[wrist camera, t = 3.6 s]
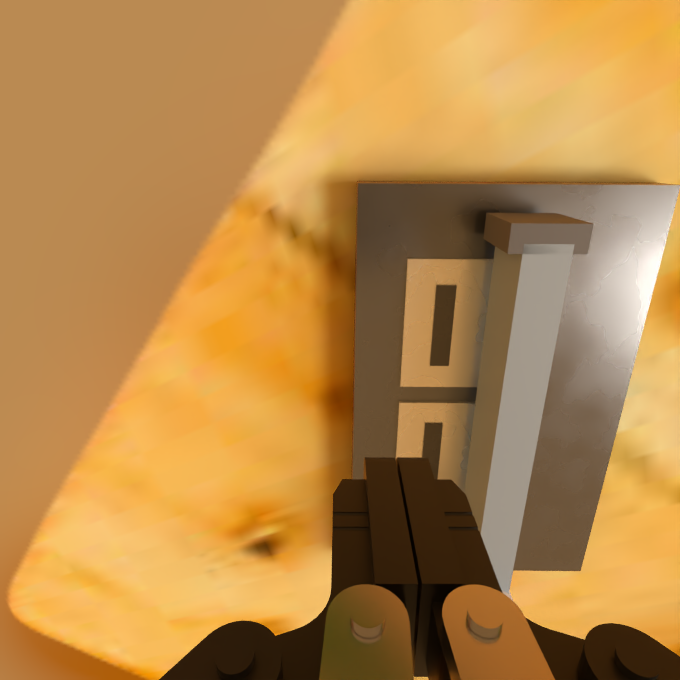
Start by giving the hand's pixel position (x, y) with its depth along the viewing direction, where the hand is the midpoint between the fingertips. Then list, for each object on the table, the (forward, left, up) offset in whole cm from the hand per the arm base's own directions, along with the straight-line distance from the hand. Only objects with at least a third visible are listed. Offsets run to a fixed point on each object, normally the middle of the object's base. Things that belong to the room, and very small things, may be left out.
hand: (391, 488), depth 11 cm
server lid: (+6, +7, -16) cm, 18 cm away
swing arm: (+6, +7, -13) cm, 16 cm away
